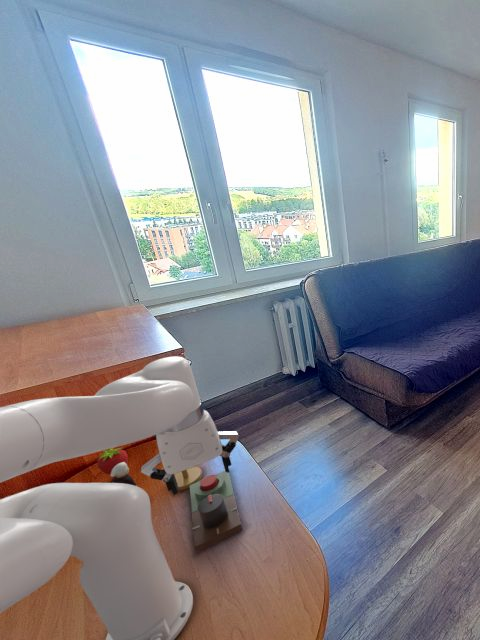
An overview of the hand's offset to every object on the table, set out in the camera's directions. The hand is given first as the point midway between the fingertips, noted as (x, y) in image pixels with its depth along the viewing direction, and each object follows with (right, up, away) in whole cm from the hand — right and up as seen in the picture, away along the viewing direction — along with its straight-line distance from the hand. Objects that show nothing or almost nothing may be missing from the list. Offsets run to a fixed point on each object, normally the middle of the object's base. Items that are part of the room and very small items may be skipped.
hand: (202, 478), depth 74 cm
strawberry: (-35, -8, +18) cm, 41 cm away
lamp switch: (-6, -7, +12) cm, 16 cm away
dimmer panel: (0, -13, +5) cm, 14 cm away
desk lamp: (-16, -8, +17) cm, 24 cm away
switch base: (-6, -10, +13) cm, 18 cm away
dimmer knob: (0, -11, +4) cm, 12 cm away
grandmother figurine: (-24, -11, +10) cm, 28 cm away
